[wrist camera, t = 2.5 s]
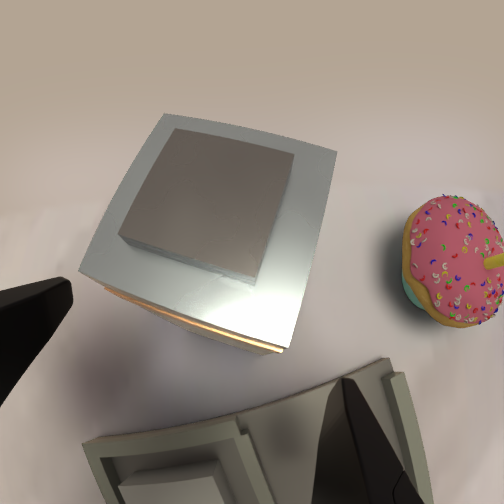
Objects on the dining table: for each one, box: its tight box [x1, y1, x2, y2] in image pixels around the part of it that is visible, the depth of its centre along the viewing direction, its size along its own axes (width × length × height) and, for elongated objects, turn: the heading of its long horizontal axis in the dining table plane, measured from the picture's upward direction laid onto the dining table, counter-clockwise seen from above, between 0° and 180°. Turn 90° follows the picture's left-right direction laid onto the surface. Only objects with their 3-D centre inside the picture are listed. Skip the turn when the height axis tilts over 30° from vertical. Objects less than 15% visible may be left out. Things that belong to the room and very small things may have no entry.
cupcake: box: [402, 194, 504, 328], centre depth 14 cm, size 9×8×12 cm
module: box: [78, 114, 337, 355], centre depth 13 cm, size 5×5×14 cm
